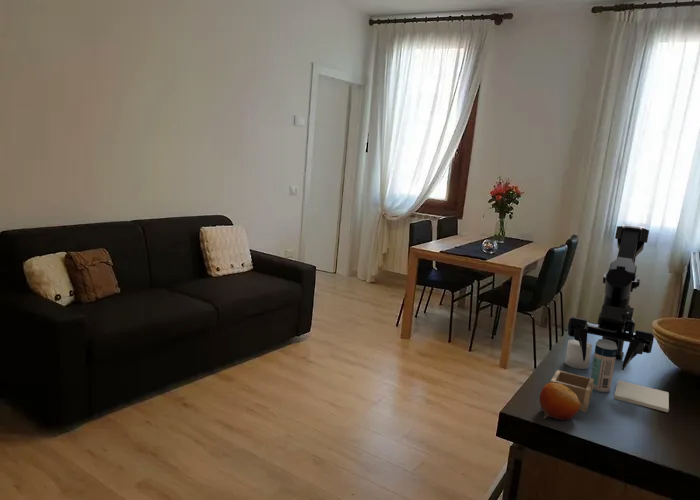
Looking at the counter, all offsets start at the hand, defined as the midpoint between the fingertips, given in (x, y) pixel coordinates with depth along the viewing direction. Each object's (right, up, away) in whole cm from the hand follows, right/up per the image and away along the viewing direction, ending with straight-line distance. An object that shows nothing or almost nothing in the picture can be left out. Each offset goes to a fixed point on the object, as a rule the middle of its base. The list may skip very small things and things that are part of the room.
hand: (602, 364), depth 128 cm
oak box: (-10, -7, -6) cm, 13 cm away
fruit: (-16, -8, -14) cm, 23 cm away
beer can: (0, -7, +2) cm, 7 cm away
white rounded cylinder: (+1, -4, +18) cm, 18 cm away
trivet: (+9, -8, 0) cm, 12 cm away
